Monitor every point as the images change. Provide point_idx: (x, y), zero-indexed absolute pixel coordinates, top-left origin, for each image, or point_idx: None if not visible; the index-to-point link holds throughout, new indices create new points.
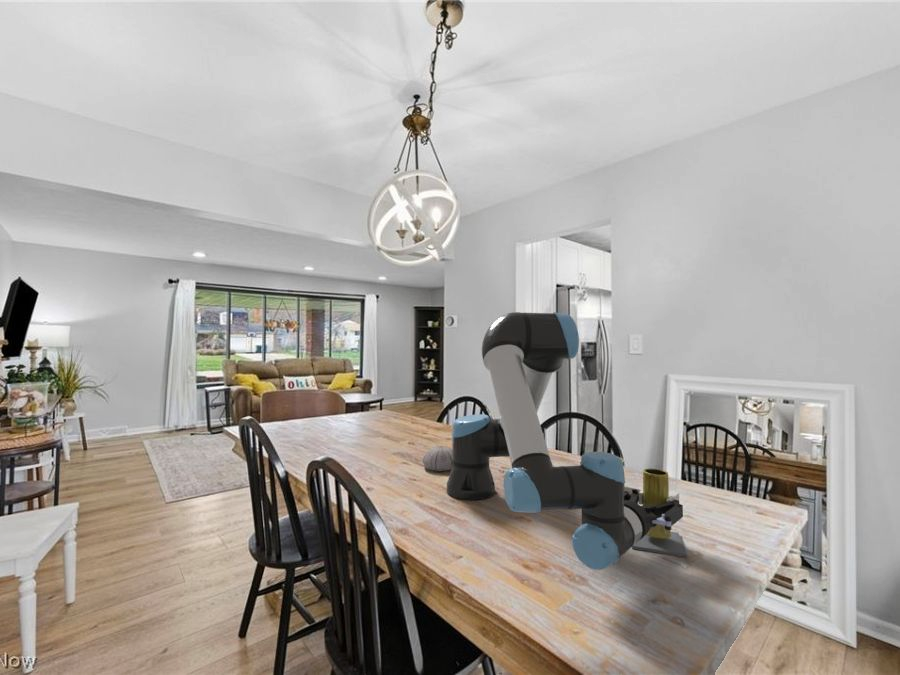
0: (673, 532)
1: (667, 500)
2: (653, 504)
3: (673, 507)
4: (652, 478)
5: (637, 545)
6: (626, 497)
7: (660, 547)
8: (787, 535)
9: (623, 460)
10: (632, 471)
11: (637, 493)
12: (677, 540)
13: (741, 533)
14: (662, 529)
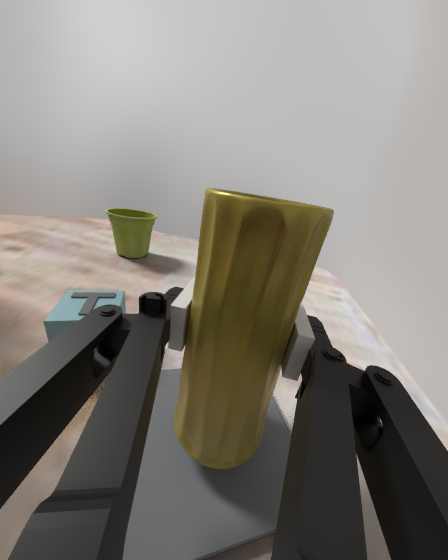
0: None
1: (302, 339)
2: (240, 370)
3: (409, 442)
4: (266, 233)
5: (147, 555)
6: (106, 340)
7: (238, 502)
8: (361, 311)
9: (155, 216)
10: (170, 235)
11: (164, 312)
12: None
13: (324, 322)
14: (252, 435)
